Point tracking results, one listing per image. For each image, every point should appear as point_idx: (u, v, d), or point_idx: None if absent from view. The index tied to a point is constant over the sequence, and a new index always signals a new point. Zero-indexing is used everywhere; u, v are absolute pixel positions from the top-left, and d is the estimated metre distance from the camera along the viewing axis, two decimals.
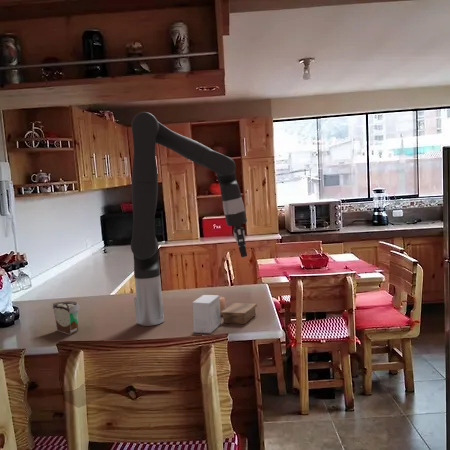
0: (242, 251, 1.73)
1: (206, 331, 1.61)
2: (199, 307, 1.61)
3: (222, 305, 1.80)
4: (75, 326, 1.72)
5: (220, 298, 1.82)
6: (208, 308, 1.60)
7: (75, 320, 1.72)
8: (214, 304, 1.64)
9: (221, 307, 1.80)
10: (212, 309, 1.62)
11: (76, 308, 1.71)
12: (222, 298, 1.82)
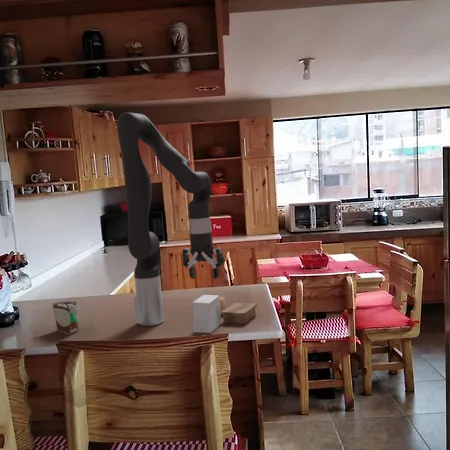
0: None
1: (206, 331, 1.61)
2: (199, 307, 1.61)
3: (222, 305, 1.80)
4: (75, 326, 1.72)
5: (220, 298, 1.82)
6: (208, 308, 1.60)
7: (75, 320, 1.72)
8: (214, 304, 1.64)
9: (221, 307, 1.80)
10: (212, 309, 1.62)
11: (76, 308, 1.71)
12: (222, 298, 1.82)
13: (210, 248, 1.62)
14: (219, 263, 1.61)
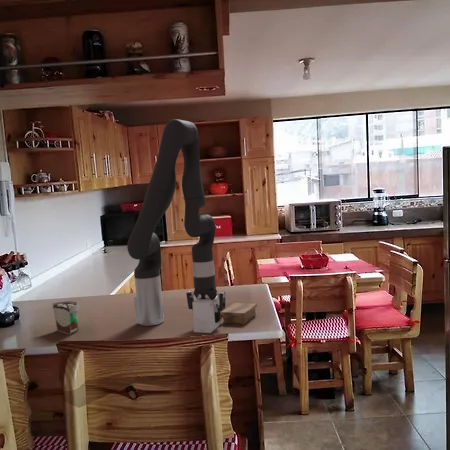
0: None
1: (206, 331, 1.61)
2: (199, 307, 1.61)
3: None
4: (75, 326, 1.72)
5: None
6: (208, 308, 1.60)
7: (75, 320, 1.72)
8: None
9: None
10: (212, 309, 1.62)
11: (76, 308, 1.71)
12: None
13: (214, 291, 1.63)
14: (221, 307, 1.63)
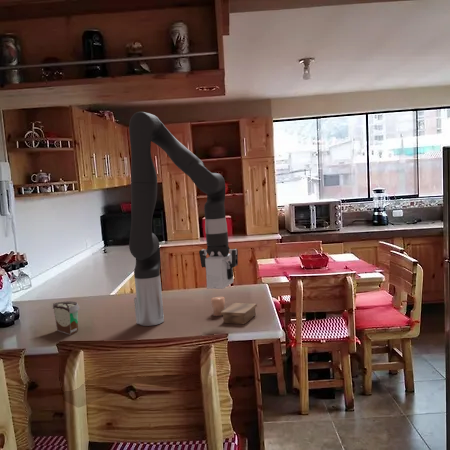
0: None
1: (219, 287, 1.63)
2: (212, 263, 1.63)
3: (222, 305, 1.80)
4: (75, 326, 1.72)
5: (220, 298, 1.82)
6: (220, 264, 1.62)
7: (75, 320, 1.72)
8: None
9: (221, 307, 1.80)
10: (224, 265, 1.64)
11: (76, 308, 1.71)
12: (222, 298, 1.82)
13: (226, 248, 1.65)
14: (233, 264, 1.64)
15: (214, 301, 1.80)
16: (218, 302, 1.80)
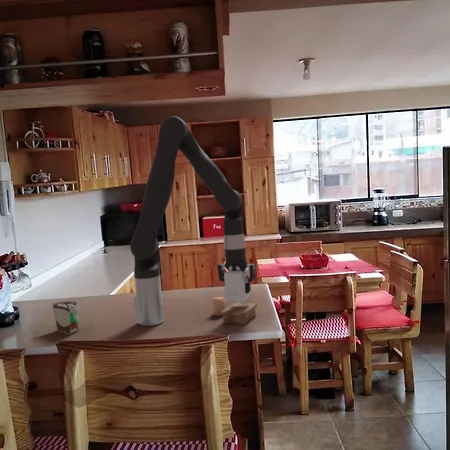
0: None
1: (237, 301, 1.69)
2: (231, 278, 1.69)
3: (223, 305, 1.80)
4: (75, 326, 1.72)
5: (220, 298, 1.82)
6: (239, 278, 1.68)
7: (75, 320, 1.72)
8: None
9: (222, 307, 1.80)
10: (243, 280, 1.69)
11: (76, 308, 1.71)
12: (222, 298, 1.82)
13: (244, 263, 1.71)
14: (251, 278, 1.70)
15: (215, 301, 1.80)
16: (219, 302, 1.80)
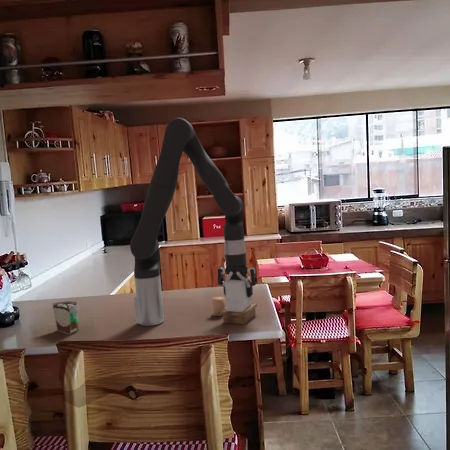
0: None
1: (238, 310, 1.69)
2: (231, 287, 1.69)
3: (223, 305, 1.80)
4: (75, 326, 1.72)
5: (220, 298, 1.82)
6: (240, 288, 1.68)
7: (75, 320, 1.72)
8: (245, 284, 1.71)
9: (222, 307, 1.80)
10: (243, 289, 1.70)
11: (76, 308, 1.71)
12: (222, 298, 1.82)
13: (244, 268, 1.71)
14: (253, 282, 1.70)
15: (215, 301, 1.80)
16: (219, 302, 1.80)
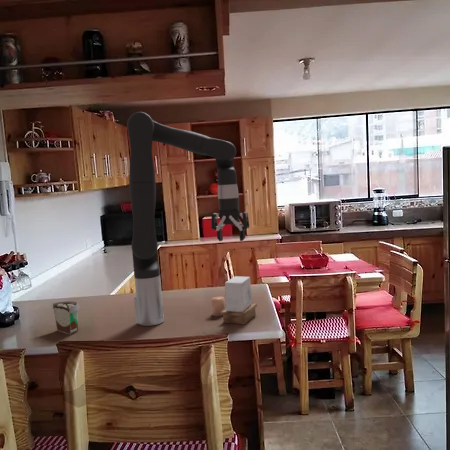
0: None
1: (238, 310, 1.69)
2: (231, 287, 1.69)
3: (223, 305, 1.80)
4: (75, 326, 1.72)
5: (220, 298, 1.82)
6: (240, 288, 1.68)
7: (75, 320, 1.72)
8: (245, 284, 1.71)
9: (222, 307, 1.80)
10: (243, 289, 1.70)
11: (76, 308, 1.71)
12: (222, 298, 1.82)
13: (237, 212, 1.77)
14: (245, 226, 1.76)
15: (215, 301, 1.79)
16: (219, 302, 1.79)
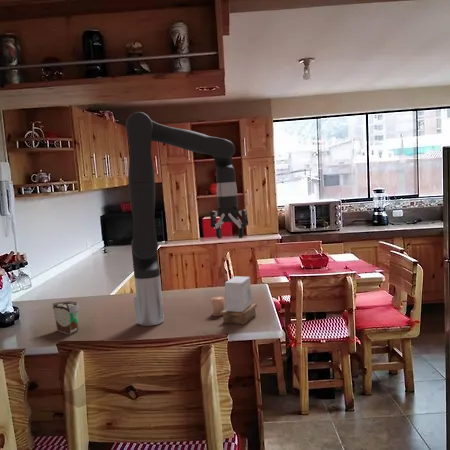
0: None
1: (238, 310, 1.69)
2: (231, 287, 1.69)
3: (223, 304, 1.81)
4: (75, 326, 1.72)
5: (219, 297, 1.82)
6: (240, 288, 1.68)
7: (75, 320, 1.72)
8: (245, 284, 1.71)
9: (222, 306, 1.80)
10: (243, 289, 1.70)
11: (76, 308, 1.71)
12: (221, 297, 1.82)
13: (236, 210, 1.78)
14: (244, 223, 1.77)
15: (215, 301, 1.80)
16: (219, 302, 1.80)
